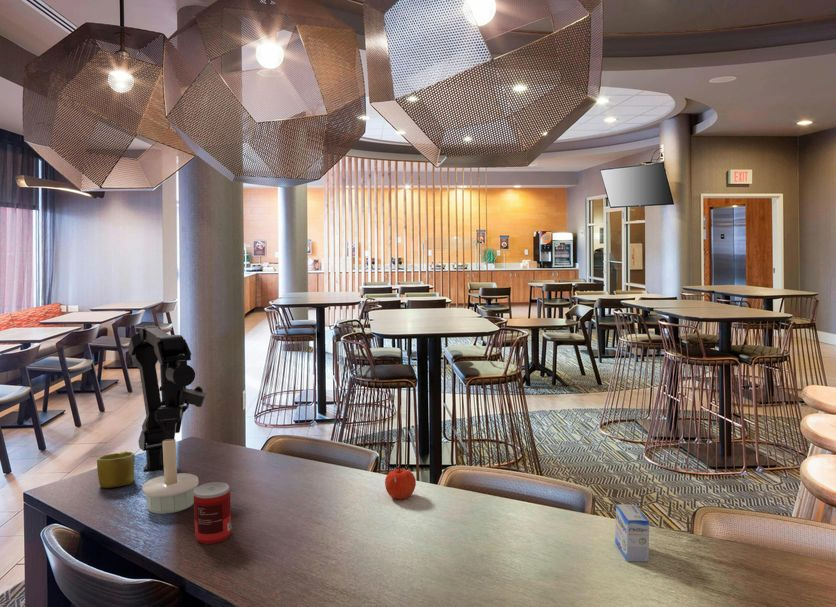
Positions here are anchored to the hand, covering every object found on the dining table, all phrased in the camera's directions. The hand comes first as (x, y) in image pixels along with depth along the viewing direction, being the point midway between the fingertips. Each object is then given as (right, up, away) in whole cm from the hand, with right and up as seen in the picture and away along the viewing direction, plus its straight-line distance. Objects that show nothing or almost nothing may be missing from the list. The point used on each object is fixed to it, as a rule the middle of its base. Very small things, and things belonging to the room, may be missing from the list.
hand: (174, 437), depth 161 cm
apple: (+63, -13, -10) cm, 65 cm away
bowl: (+5, -14, -13) cm, 20 cm away
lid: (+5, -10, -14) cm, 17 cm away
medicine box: (+111, -15, -40) cm, 120 cm away
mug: (-17, -13, +3) cm, 22 cm away
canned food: (+22, -15, -31) cm, 40 cm away
